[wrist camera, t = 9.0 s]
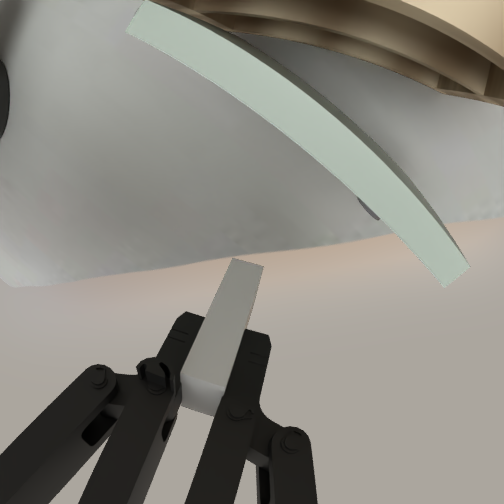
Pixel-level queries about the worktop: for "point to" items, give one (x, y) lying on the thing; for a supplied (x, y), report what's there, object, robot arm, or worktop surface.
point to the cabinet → (383, 35)
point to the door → (306, 127)
